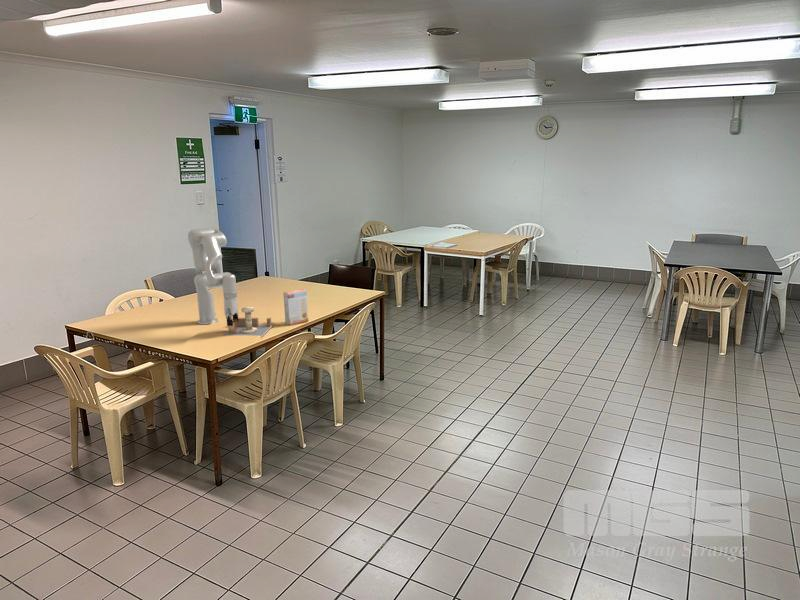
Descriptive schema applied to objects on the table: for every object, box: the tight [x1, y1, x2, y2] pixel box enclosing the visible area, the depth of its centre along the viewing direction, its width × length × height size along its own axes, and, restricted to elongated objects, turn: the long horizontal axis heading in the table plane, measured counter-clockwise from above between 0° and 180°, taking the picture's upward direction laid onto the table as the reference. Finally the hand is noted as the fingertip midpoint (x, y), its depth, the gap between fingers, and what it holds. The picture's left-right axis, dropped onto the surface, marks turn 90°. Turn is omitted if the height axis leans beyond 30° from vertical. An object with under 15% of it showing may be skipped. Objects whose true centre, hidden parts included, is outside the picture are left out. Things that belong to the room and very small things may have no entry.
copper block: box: [227, 318, 238, 333], centre depth 321 cm, size 4×4×7 cm
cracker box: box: [282, 288, 309, 326], centre depth 342 cm, size 14×6×21 cm, turn 131°
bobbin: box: [241, 306, 257, 334], centre depth 321 cm, size 9×9×14 cm
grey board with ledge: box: [223, 317, 273, 339], centre depth 324 cm, size 20×23×6 cm
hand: (232, 323), depth 320 cm, fingers open, 9 cm apart
